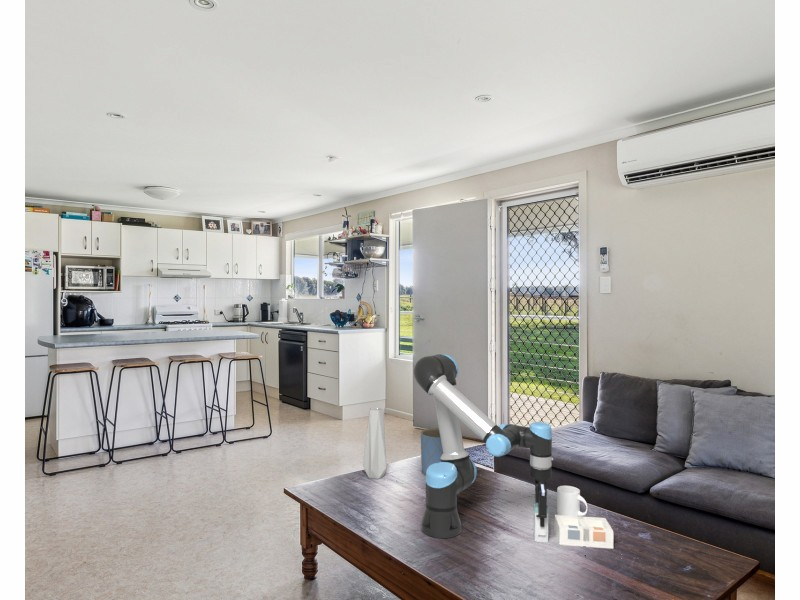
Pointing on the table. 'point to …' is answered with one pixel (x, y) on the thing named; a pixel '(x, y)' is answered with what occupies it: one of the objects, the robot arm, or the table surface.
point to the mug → (569, 501)
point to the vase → (375, 445)
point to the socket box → (583, 531)
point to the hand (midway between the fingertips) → (540, 531)
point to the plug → (537, 537)
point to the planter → (430, 448)
